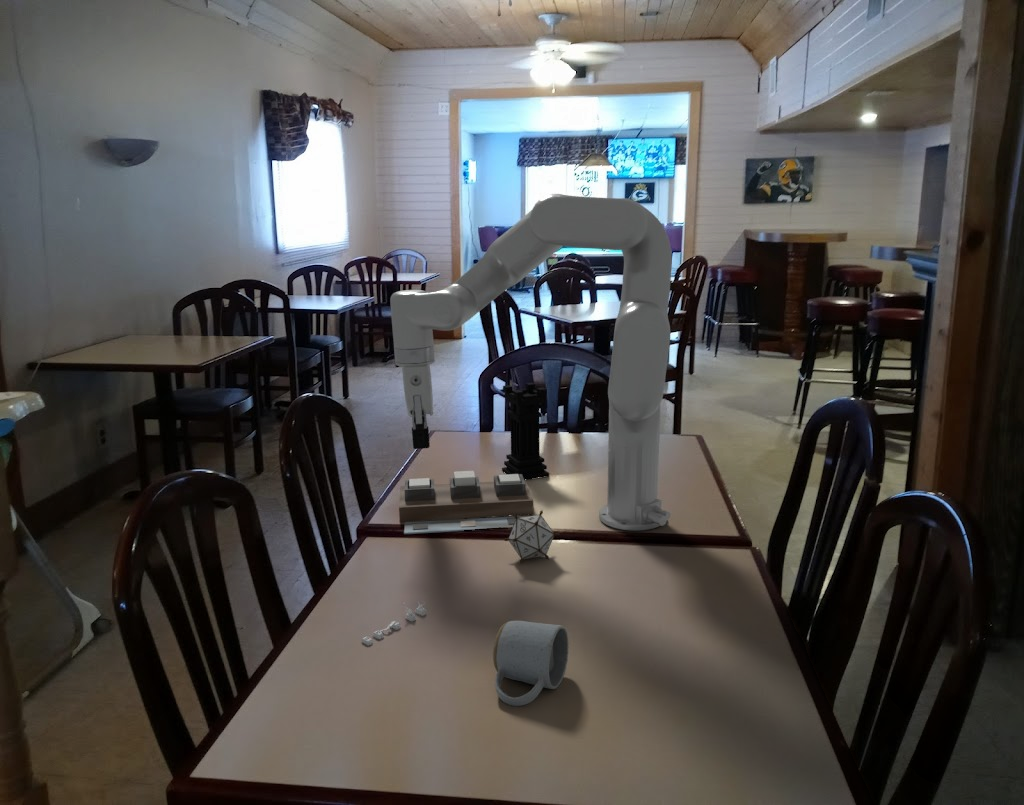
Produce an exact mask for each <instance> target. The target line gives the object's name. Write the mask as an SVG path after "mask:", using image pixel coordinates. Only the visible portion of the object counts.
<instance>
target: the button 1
mask: <svg viewBox="0 0 1024 805" xmlns="http://www.w3.org/2000/svg"><path fill="white" fill-rule="evenodd" d="M429 479H430V478H429V477H425V478H424V477H423V478H409V479H408V480H409V489H412V488H430V480H429Z"/></svg>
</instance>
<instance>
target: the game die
mask: <svg viewBox="0 0 1024 805" xmlns="http://www.w3.org/2000/svg"><path fill="white" fill-rule="evenodd" d="M542 515H543V509H541V511H539V514H533V515H524V516H525V517H517V515H515V514H514V516H513V517H515V518H516V520H515V523H514V525H513V528H511V529H510V530H511V531H510V532H509V536H508V537H505V538H504V539H503V541H505V542H509V543H510V545H511V546H512V547H513V549H514V550H515V552H516V553H517V555H518V556H519V558H520V560H519V564H520V565H521V564H522V563H523V561H524V560H528V559H535V558H539V557H545V559H547V560H550V557H549V555H548V551H549V549H550V546H551V545H552V543H553V540H554V538H555V536H559V535H560V533H559V532H557V531H556V532H554V531H553V529H552V527H551V526H549V524H548V522H547V521H546V520H545V518H544V516H542Z"/></svg>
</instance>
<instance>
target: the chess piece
mask: <svg viewBox="0 0 1024 805" xmlns="http://www.w3.org/2000/svg"><path fill="white" fill-rule="evenodd" d="M502 392H504V393H505V397H504V398H505V399H504V400H505V401H506V402H508V403H509V404H510V409H509V410H507V414H508V415H509V417H510V454H505V455H506V457H505V458H506V460H504V461H503V465H504V467H501V472H502V471H503V473H504V472H505V473H506V474H505V473H504V474H505V475H507V474H522V476H523V478H524V480H525V479H530V480H533V479H532V478H536V479H539V478H538V477H542V478H545V477H544V476H547V477H550V472H548V470H547V469H548V466H547V464H545V458H544V457H542V456H540V454H541V453H540V450H541V449H540V418H542V416H543V415H542V414H543V413H542V412H540V404H545V395H547V394H548V392H547V388H545V387H537V388H536V384H535V383H533V382H527V383H525V388H524V389H523V388H522V389H516V390H515V389H514V390H513V386H512V385H509V384H508V385H503V386H502ZM505 466H506V467H505Z"/></svg>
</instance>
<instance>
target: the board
mask: <svg viewBox="0 0 1024 805" xmlns="http://www.w3.org/2000/svg"><path fill="white" fill-rule="evenodd" d="M499 475H500V474H499ZM499 475H493V481H483V482H481V481H480V478H479V476H475V485H472V486H455V483H454V477H449V483H441V484H439V483H438V484H435V479H434V478H429V480H430V488H412V489H409V479H405V480H404V485H402V486H400V491H399V505H398V516H399V523H404V530H403V534H404V535H413V534H414V535H415V534H430V533H431V534H432V533H451V532H465V531H464V530H472V531H476V530H475V529H487V528H499V527H501V528H503V527H513V525H514V523H515V520H516V518H515V517H514V516H509V515H514V514H515V515H523V516H517V517H525V516H529V515H528V514H533V515H534V499H533V496H532V494H531V491H530V488H529V486H528V483H527V480H524V478H523V476H522V474H518V475H519V478H520V483H512V484H499ZM492 516H504V517H492ZM479 517H486V518H479ZM464 518H467V519H464Z"/></svg>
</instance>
